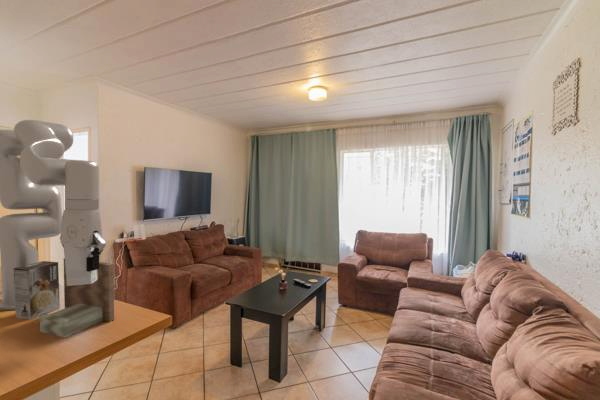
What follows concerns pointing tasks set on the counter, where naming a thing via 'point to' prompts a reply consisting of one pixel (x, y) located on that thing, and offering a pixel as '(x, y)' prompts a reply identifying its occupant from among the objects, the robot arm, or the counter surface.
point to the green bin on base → (83, 304)
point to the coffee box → (36, 289)
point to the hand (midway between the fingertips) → (82, 267)
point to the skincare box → (77, 266)
